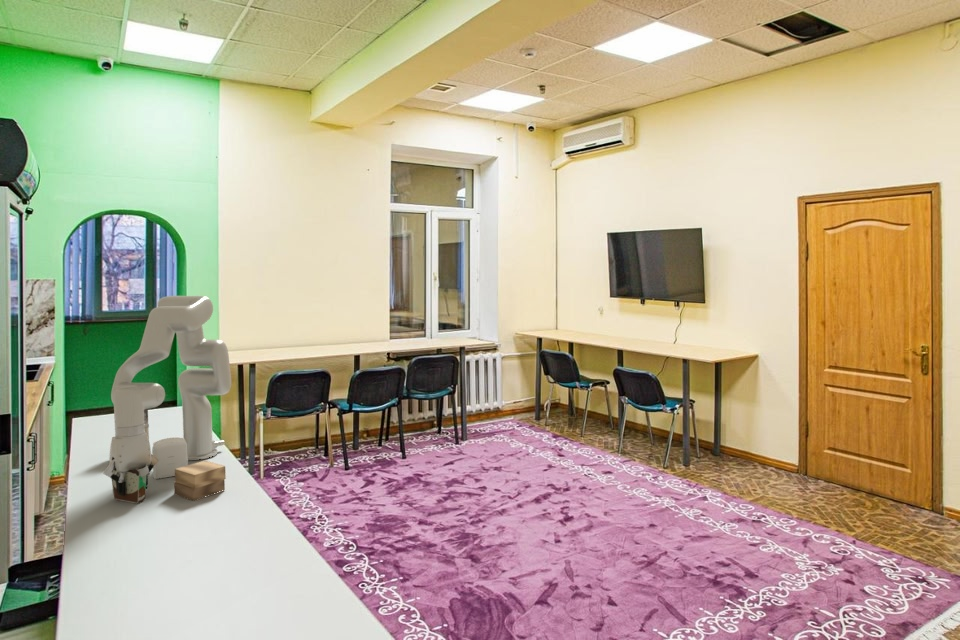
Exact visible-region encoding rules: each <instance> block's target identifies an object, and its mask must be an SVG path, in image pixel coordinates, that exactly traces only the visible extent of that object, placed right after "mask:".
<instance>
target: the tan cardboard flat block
mask: <svg viewBox="0 0 960 640" xmlns="http://www.w3.org/2000/svg"><path fill="white" fill-rule="evenodd" d="M225 482H226V481H225V479H224V480H221V481H218V482H214V483H211V484H208V485H205V486H202V487H198V488H192V487H189V486H186V485H182V484H179V483H176V482H175V481H174V482H173V486H174V487H173V491H174V495H176V496H178V497H181V498H184V499H187V498H188V499H187V500H189V499H191V500H190V501H192V500H196V501H198V500H197V499H199V498H202V497H205V496H208V495H211V494H214V493H217V492H219V491H222V490H225V489H226V487H225V485H226V484H225ZM225 491H226V490H225ZM217 494H218V493H217ZM214 495H215V494H214ZM211 496H212V495H211ZM208 497H209V496H208ZM205 498H206V497H205ZM202 499H203V498H202ZM199 500H200V499H199Z"/></svg>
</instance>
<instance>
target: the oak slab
mask: <svg viewBox="0 0 960 640" xmlns="http://www.w3.org/2000/svg"><path fill="white" fill-rule="evenodd" d="M226 477H227V476H226V465H222V464H219V463H216V462H211V461H209V460H202V461H199V462H194V463H191V464H188V465H187V466H184V467H180V468H176V469H175V476H174V482H176V483H179V484H182V485H186V486H189V487H192V488H198V487H202V486H205V485H208V484H211V483H214V482H218V481H221V480H224V481H225V480H226V479H227V478H226Z"/></svg>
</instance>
